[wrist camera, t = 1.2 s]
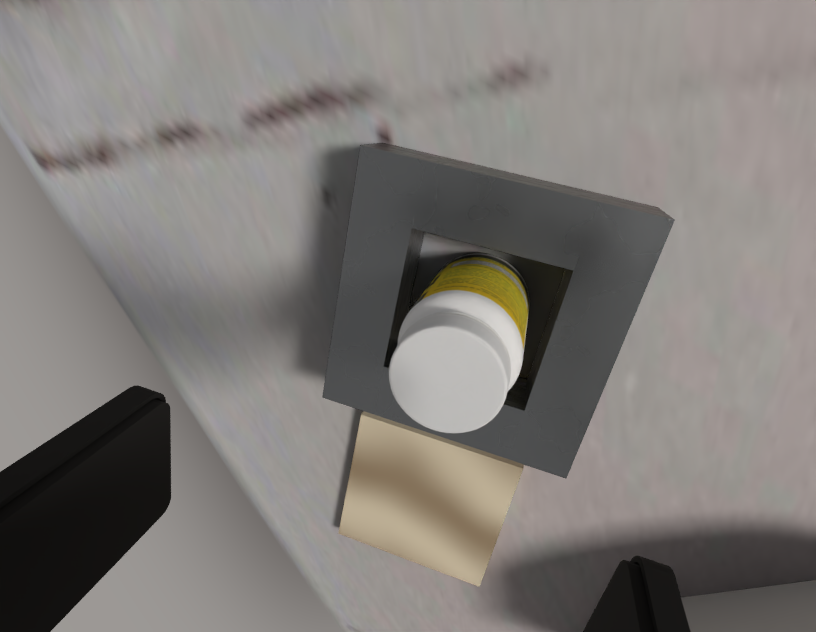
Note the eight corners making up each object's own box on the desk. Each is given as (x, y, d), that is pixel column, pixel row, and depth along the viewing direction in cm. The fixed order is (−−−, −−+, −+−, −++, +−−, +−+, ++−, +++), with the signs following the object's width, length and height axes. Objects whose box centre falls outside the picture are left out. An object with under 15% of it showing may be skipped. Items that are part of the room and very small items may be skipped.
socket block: (564, 440, 25) (565, 478, 22) (345, 370, 27) (322, 397, 24) (657, 207, 20) (674, 219, 18) (383, 142, 22) (360, 144, 20)
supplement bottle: (436, 244, 23) (381, 301, 16) (538, 258, 22) (532, 326, 15) (427, 337, 25) (374, 428, 17) (521, 353, 24) (508, 458, 16)
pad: (480, 578, 30) (479, 586, 29) (341, 526, 31) (338, 533, 31) (523, 461, 26) (523, 468, 26) (364, 408, 28) (360, 414, 27)
